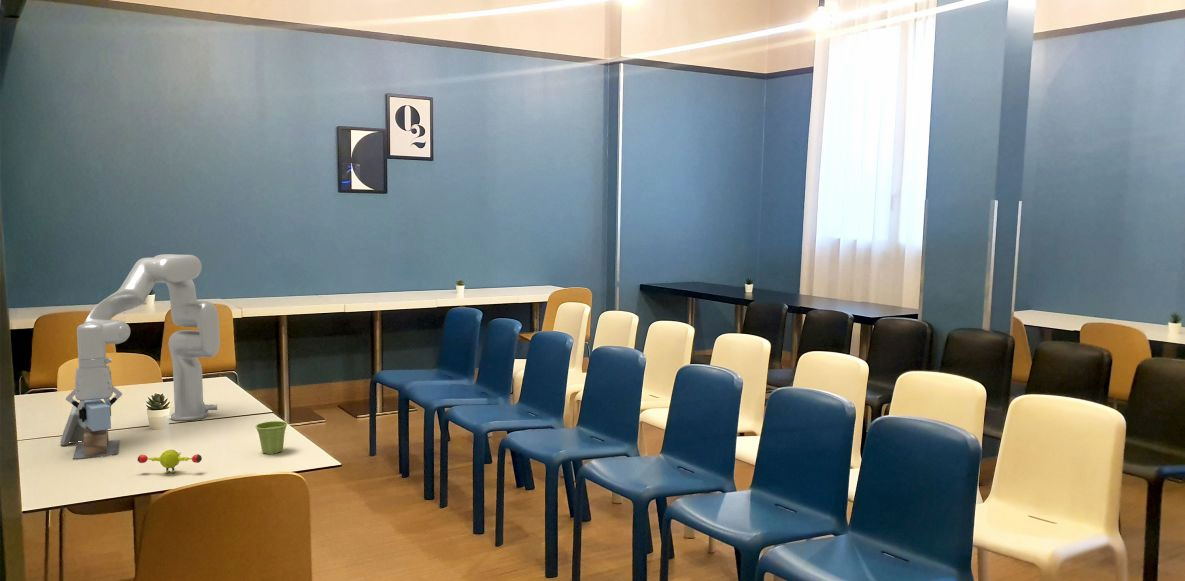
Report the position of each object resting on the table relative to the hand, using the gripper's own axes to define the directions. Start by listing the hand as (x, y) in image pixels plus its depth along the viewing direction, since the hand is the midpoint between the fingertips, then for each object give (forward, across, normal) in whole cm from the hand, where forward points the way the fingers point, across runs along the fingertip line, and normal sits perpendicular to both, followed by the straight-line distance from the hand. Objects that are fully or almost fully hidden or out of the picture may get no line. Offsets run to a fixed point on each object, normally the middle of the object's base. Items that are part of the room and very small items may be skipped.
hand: (95, 419), depth 277 cm
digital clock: (+10, +8, -17) cm, 21 cm away
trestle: (+10, 0, 0) cm, 10 cm away
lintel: (+2, 0, 0) cm, 2 cm away
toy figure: (+10, -20, +36) cm, 42 cm away
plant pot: (+10, -49, +26) cm, 56 cm away
